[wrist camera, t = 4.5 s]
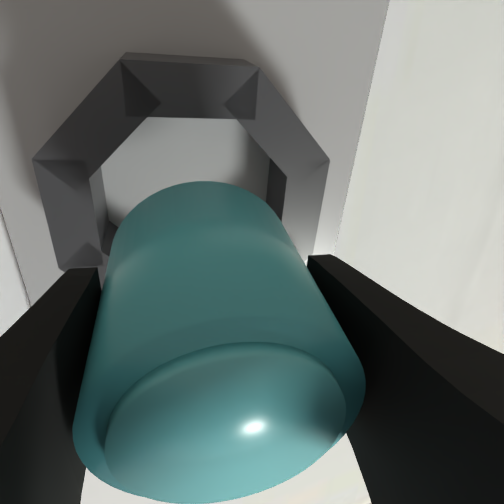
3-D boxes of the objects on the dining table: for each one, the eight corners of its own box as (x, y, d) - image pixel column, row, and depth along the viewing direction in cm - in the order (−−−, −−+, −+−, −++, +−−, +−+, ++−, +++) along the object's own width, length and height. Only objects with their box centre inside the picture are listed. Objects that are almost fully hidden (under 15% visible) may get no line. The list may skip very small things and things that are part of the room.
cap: (125, 338, 11) (103, 538, 7) (92, 186, 9) (23, 358, 4) (281, 319, 12) (347, 486, 8) (295, 176, 10) (406, 310, 5)
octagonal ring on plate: (42, 323, 18) (23, 373, 15) (-72, -54, 10) (-144, -75, 8) (318, 300, 21) (339, 338, 18) (382, -5, 13) (433, -9, 11)
